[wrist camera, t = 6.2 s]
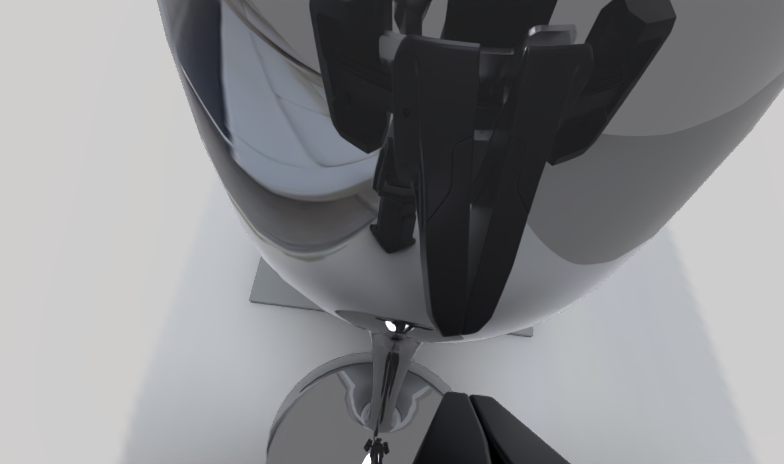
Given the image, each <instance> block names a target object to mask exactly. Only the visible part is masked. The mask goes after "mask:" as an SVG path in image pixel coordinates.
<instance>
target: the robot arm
mask: <svg viewBox="0 0 784 464" xmlns="http://www.w3.org/2000/svg"><path fill="white" fill-rule="evenodd" d="M412 464H570V463H569V462H568V461H567V460H565V459H564V458H563V457H562V456H561V455H560V454H558V453H557V452H556V451H555V450H554V449H552V448H551V447H550V446H549V445H548V444H547V443H545V442H544V441H543V440H542V439H541V438H540V437H538V436H537V435H536V434H535V433H534V432H532V431H531V430H530V429H529V428H528V427H527V426H525V425H524V424H523V423H522V422H521V421H519V420H518V419H517V418H516V417H515V416H514V415H512V414H511V413H510V412H509V411H508V410H507V409H505V408H504V407H503V406H502V405H501V404H499V403H498V402H497V401H496V400H495V399H493V398H492V397H488V396H481V395H470V396H468V395H467V394H465V393H457V392H450V391H447V392H445V394H444V396H443V398H442V400H441V402H440V404H439V406H438V408H437V411H436V413H435V415H434V417H433V419H432V421H431V424H430V426H429V428H428V430H427V432H426V434H425V436H424V439H423V441H422V443H421V445H420V447H419V449H418V451H417V454H416V456H415V458H414V460H413V462H412Z"/></svg>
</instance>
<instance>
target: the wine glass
mask: <svg viewBox="0 0 784 464" xmlns="http://www.w3.org/2000/svg"><path fill="white" fill-rule="evenodd" d="M157 2H158V6H159V11H160V15H161V19H162V23H163V27H164V31H165V35H166V39H167V42H168V45H169V47H170V50H171V53H172V56H173V59H174V62H175V64H176V68H177V71H178V73H179V76H180V79H181V82H182V85H183V88H184V91H185V94H186V96H187V99H188V102H189V105H190V108H191V111H192V113H193V117H194V119H195V122H196V125H197V128H198V131H199V134H200V136H201V140H202V142H203V144H204V147H205V149H206V151H207V153H208V156H209V158H210V160H211V162H212V164H213V167H214V169H215V171H216V173H217V175H218V178H219V180H220V182H221V184H222V186H223V189H224V191H225V193H226V195H227V198H228V200H229V202H230V204H231V206H232V208H233V210H234V212H235V214H236V215H237V217H238V219H239V221H240V223H241V225H242V226H243V228H244V230H245V231H246V233H247V234H248V236H249V237H250V239H251V241H252V242H253V244H254V245H255V247H256V248H257V250H258V251H259V253H260V255H261V256H262V258H263V259H264V260H265V261H266V262H267V263H268V264H269V265H270V266H271V268H272V269H273V270H274V271H275V272H276V273H277V274H278V275H279V276H280V277H281V278H282V279H283V280H284V281H285V282H287V283H288V284H289V285H291V286H292V287H293V288H295V289H296V290H297V291H299V292H300V293H301V294H303V295H304V296H305V297H307V298H308V299H310V300H311V301H312V302H314V303H315V304H316V305H318V306H319V307H321V308H322V309H323V310H325V311H326V312H328V313H330V314H332V315H334V316H336V317H338V318H340V319H342V320H344V321H346V322H348V323H350V324H352V325H354V326H357V327H360V328H363V329H366V330H367V331H368V332H369V334H370V338H371V343H372V353H370V352H367V353H358V354H351V355H347V356H343V357H340V358H337V359H334V360H332V361H330V362H327V363H325V364H323V365H321V366H320V367H318V368H317V369H315V370H314V371H312V372H310V373H309V374H308V375H307V376H306V377H305V378H303V379H302V380H301V381H300V382H299V383H298V384H297V385H296V386H295V387H294V389H293V390H292V391H291V392H290V393H289V395H288V396H287V397H286V398H285V400H284V402H283V404H282V405H281V407H280V409H279V410H278V412H277V414H276V417H275V419H274V422H273V424H272V427H271V430H270V434H269V439H268V444H267V449H266V464H412V462H413V460H414V458H415V456H416V454H417V451H418V449H419V447H420V445H421V443H422V441H423V439H424V436H425V434H426V432H427V430H428V428H429V426H430V424H431V421H432V419H433V417H434V415H435V413H436V411H437V408H438V406H439V404H440V402H441V400H442V398H443V396H444V394H445V392H447V391H450V392H453V391H452V390H451V388H450V387H449V386H448V385H447V384H446V383H444V382H443V381H442V380H441V379H440V378H439V377H438V376H437V375H435V374H434V373H432V372H431V371H430V370H428V369H427V368H425V367H423V366H421V365H419V364H417V363H415V362H413V361H412V360H413V358H414V356H415V354H416V352H417V351H418V349H419V348H420V346H421V345H422V344H423V343H425V342H431V343H458V342H467V341H476V340H483V339H487V338H491V337H496V336H500V335H504V334H508V333H511V332H515V331H518V330H522V329H525V328H528V327H532V326H535V325H538V324H540V323H542V322H544V321H546V320H548V319H549V318H551V317H553V316H555V315H557V314H559V313H561V312H562V311H564V310H565V309H567V308H568V307H570V306H571V305H573V304H574V303H576V302H577V301H579V300H580V299H582V298H583V297H585V296H586V295H588V294H589V293H591V292H592V291H594V290H595V289H597V288H598V287H599V286H600V285H601V284H602V283H603V282H604V281H606V280H607V279H608V278H609V277H610V276H611V275H612V274H613V273H614V272H615V271H616V270H618V269H619V268H620V267H621V266H622V265H623V264H624V263H625V262H626V261H627V260H629V259H630V258H631V257H632V256H633V255H634V254H635V253H636V252H637V251H638V250H640V249H641V248H642V247H643V246H644V245H645V244H646V243H647V242H648V241H649V240H650V239H652V238H653V237H654V236H655V235H656V234H657V233H658V232H659V231H660V230H661V229H662V228H663V227H664V226H665V225H666V224H667V223H668V222H669V221H670V220H671V219H672V217H673V216H674V215H675V214H676V213H677V212H678V211H679V210H680V208H682V206H683V205H684V204H685V203H686V202H687V201H688V200H689V199H690V198H691V197H692V195H693V194H694V193H695V192H696V191H697V190H698V189H699V188H700V186H701V185H702V184H703V183H704V182H705V181H706V180H707V179H708V178H709V177H710V176H711V175H712V173H713V172H714V171H715V170H716V169H717V168H718V167H719V166H720V165H721V164H722V162H723V161H724V160H725V159H726V158H727V157H728V156H729V155H730V154H731V152H733V150H734V149H735V148H736V147H737V146H738V145H739V144H740V143H741V142H742V141H743V139H744V138H745V137H746V136H747V135H748V134H749V133H750V132H751V130H752V129H753V128H754V126H755V125H756V124H757V122H758V121H759V120H760V118H761V117H762V116H763V114H764V113H765V112H766V110H767V109H768V108H769V107H770V105H771V104H772V102H773V101H774V100H775V99H776V97H777V96H778V94H779V93H780V92H781V91H782V89H783V88H784V0H157Z"/></svg>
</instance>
